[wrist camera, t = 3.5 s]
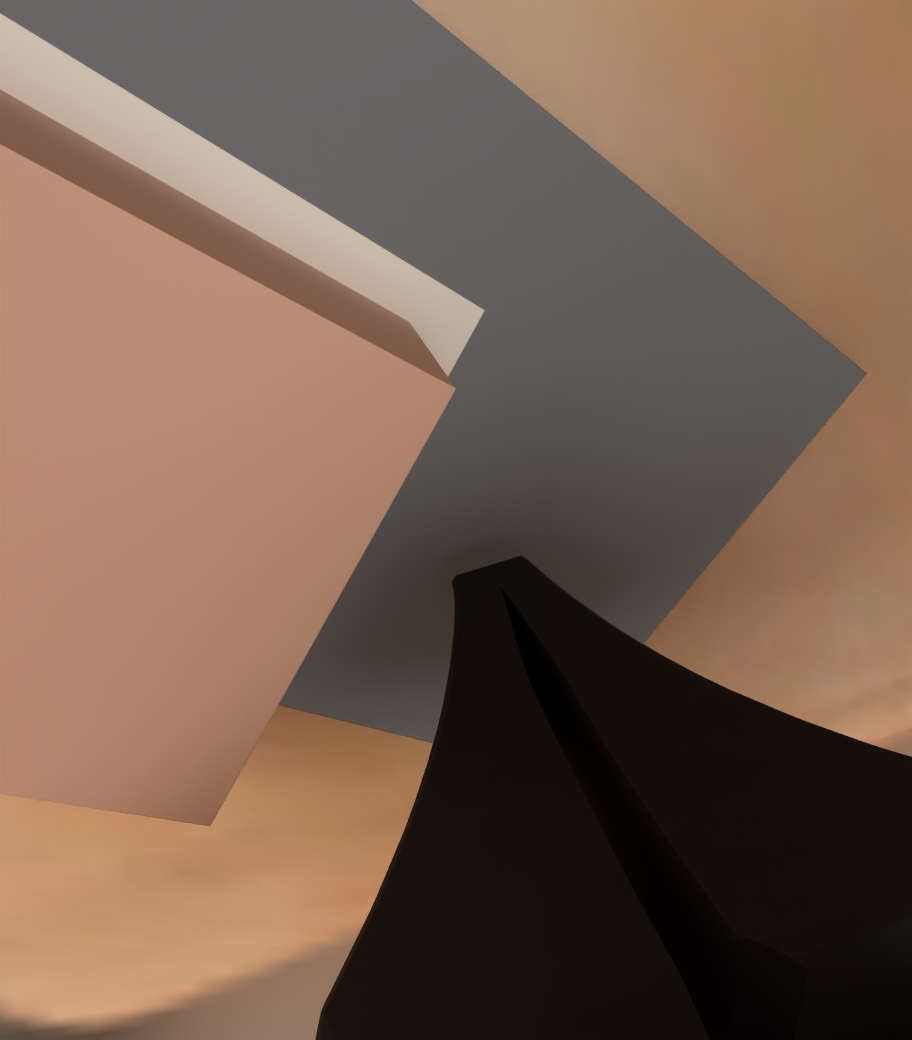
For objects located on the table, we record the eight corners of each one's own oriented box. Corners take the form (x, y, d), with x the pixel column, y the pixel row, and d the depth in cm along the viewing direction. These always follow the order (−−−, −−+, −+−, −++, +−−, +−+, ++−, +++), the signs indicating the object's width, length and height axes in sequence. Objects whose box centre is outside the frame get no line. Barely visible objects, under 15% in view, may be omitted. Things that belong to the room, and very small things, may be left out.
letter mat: (854, 369, 11) (868, 374, 11) (535, 759, 15) (539, 770, 15) (-428, -672, 5) (-480, -732, 4) (-408, 520, 9) (-434, 531, 8)
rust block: (409, 321, 9) (456, 388, 6) (247, 640, 11) (210, 825, 8) (-135, 12, 6) (-687, -225, 3) (-202, 512, 9) (-552, 708, 5)
